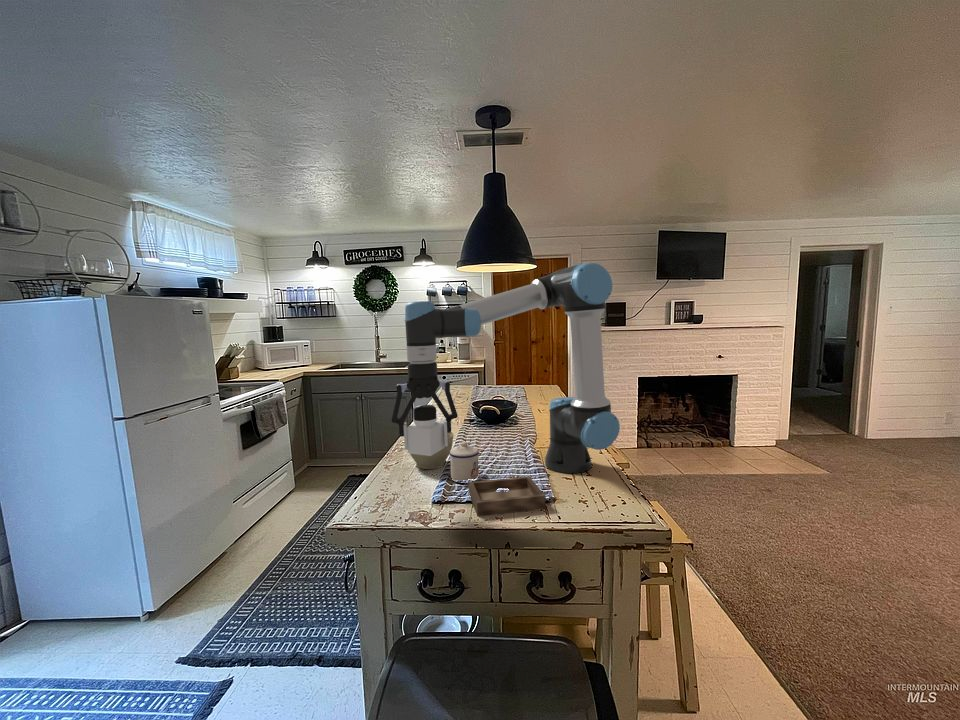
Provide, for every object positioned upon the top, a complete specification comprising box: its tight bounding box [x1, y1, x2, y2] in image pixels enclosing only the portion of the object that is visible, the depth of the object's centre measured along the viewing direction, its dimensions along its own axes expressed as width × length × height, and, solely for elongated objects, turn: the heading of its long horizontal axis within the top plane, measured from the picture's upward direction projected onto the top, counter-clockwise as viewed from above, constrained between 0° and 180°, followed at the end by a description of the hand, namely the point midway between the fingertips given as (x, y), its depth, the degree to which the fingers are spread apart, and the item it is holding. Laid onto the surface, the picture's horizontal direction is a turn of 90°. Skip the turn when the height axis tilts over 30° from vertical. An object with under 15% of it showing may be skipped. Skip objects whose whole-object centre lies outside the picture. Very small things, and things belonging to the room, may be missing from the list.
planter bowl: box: [409, 431, 454, 470], centre depth 144 cm, size 16×16×11 cm
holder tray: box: [468, 476, 546, 517], centre depth 115 cm, size 18×14×4 cm
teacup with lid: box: [449, 441, 479, 480], centre depth 132 cm, size 12×9×12 cm
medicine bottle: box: [407, 404, 444, 456], centre depth 110 cm, size 7×7×12 cm
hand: (426, 446), depth 110 cm, fingers closed on medicine bottle, 10 cm apart
